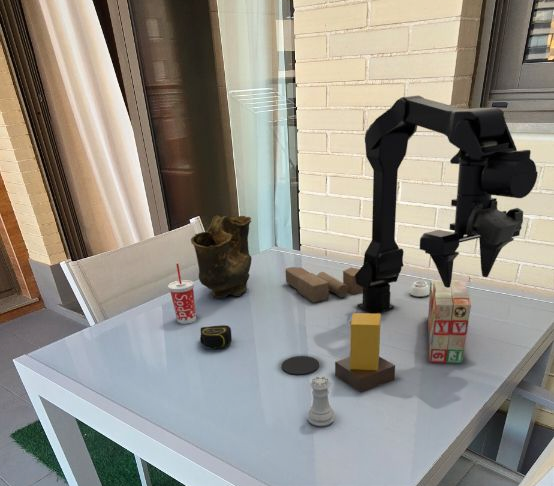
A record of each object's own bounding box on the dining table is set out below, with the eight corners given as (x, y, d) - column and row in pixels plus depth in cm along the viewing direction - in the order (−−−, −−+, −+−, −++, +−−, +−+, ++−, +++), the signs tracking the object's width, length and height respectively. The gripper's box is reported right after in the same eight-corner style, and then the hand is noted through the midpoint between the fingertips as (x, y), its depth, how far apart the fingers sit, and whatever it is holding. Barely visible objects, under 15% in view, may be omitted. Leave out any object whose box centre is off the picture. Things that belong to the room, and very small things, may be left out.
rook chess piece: (306, 414, 93) (304, 374, 89) (331, 412, 94) (331, 371, 89) (309, 429, 90) (308, 387, 85) (336, 426, 90) (336, 384, 85)
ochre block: (352, 357, 104) (353, 313, 99) (379, 357, 103) (380, 313, 98) (350, 369, 100) (350, 324, 95) (377, 370, 99) (379, 324, 94)
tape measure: (232, 337, 122) (230, 321, 120) (232, 350, 116) (230, 334, 114) (202, 340, 122) (199, 324, 120) (200, 353, 116) (198, 337, 114)
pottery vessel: (228, 275, 158) (219, 204, 147) (263, 276, 155) (257, 204, 144) (191, 307, 139) (179, 228, 128) (230, 310, 135) (221, 229, 124)
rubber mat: (274, 364, 110) (274, 362, 110) (306, 353, 113) (306, 352, 113) (294, 379, 104) (294, 377, 104) (326, 367, 107) (326, 366, 107)
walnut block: (335, 375, 104) (334, 361, 103) (368, 363, 107) (368, 350, 106) (360, 392, 98) (360, 378, 97) (394, 379, 101) (395, 365, 100)
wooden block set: (314, 283, 131) (283, 264, 145) (314, 305, 135) (285, 284, 149) (373, 269, 136) (338, 252, 150) (373, 291, 140) (338, 272, 154)
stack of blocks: (427, 319, 123) (432, 265, 116) (455, 319, 122) (462, 265, 115) (429, 363, 106) (435, 303, 99) (463, 364, 105) (471, 303, 98)
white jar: (413, 289, 139) (406, 296, 135) (414, 278, 137) (407, 284, 134) (432, 292, 136) (425, 298, 133) (433, 280, 135) (426, 287, 131)
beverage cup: (169, 323, 131) (158, 266, 123) (182, 314, 136) (172, 258, 128) (191, 326, 129) (181, 268, 121) (203, 316, 133) (195, 259, 126)
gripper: (466, 206, 84) (458, 303, 92) (552, 188, 90) (537, 280, 98) (419, 199, 92) (415, 289, 100) (500, 183, 99) (491, 268, 107)
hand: (466, 281), depth 101 cm, fingers open, 9 cm apart
